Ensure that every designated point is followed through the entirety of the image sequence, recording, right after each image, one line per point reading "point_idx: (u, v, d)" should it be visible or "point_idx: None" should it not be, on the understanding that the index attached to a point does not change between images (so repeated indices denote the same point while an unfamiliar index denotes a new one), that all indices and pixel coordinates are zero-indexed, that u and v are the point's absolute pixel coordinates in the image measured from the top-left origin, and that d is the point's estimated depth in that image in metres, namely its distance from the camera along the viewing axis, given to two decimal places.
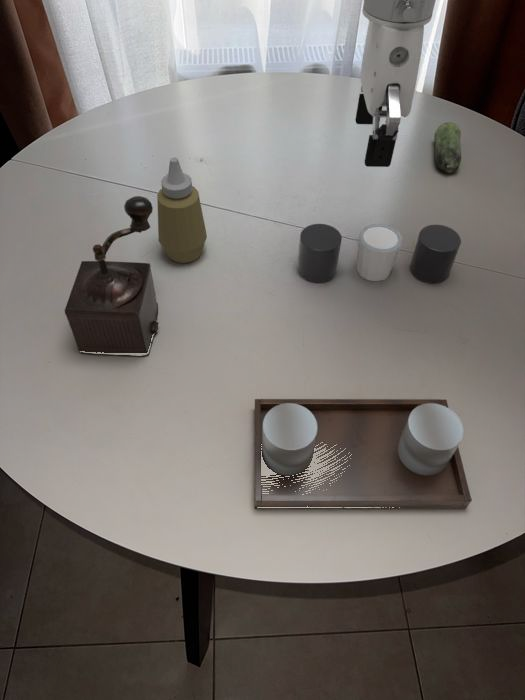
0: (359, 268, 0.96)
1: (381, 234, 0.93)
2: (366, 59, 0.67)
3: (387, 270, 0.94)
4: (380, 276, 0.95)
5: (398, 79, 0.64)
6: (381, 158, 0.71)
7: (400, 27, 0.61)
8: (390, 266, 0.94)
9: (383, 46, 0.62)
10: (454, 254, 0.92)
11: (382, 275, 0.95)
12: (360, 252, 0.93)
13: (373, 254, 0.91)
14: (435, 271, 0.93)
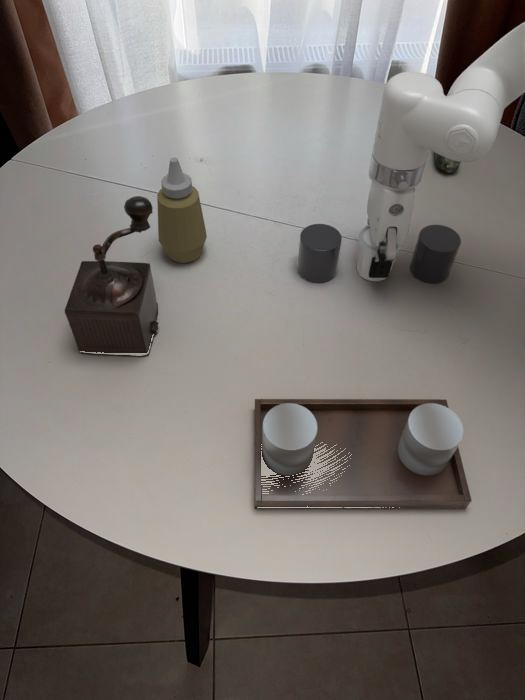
0: (359, 268, 0.96)
1: None
2: (371, 203, 0.87)
3: None
4: None
5: (396, 224, 0.84)
6: (381, 273, 0.92)
7: (397, 190, 0.81)
8: None
9: (384, 202, 0.82)
10: (454, 254, 0.92)
11: None
12: (360, 252, 0.93)
13: (373, 254, 0.91)
14: (435, 271, 0.93)
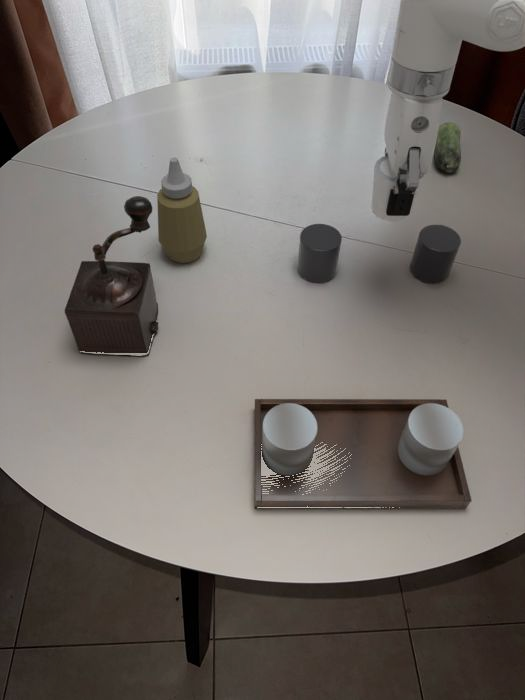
0: (375, 206, 0.83)
1: None
2: (390, 123, 0.74)
3: None
4: None
5: (419, 143, 0.71)
6: (401, 209, 0.79)
7: (421, 99, 0.68)
8: None
9: (406, 115, 0.69)
10: (454, 254, 0.92)
11: None
12: (376, 186, 0.80)
13: (392, 186, 0.78)
14: (435, 271, 0.93)
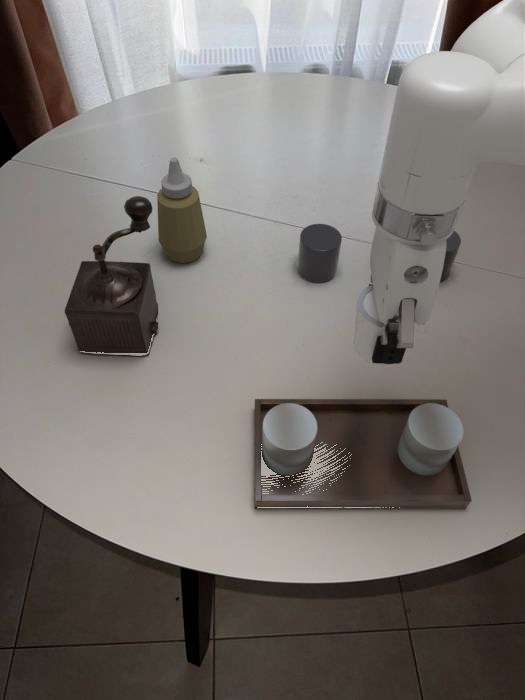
0: (357, 346, 0.65)
1: None
2: (376, 258, 0.57)
3: None
4: None
5: (415, 294, 0.53)
6: (391, 359, 0.61)
7: (418, 244, 0.50)
8: None
9: (397, 263, 0.51)
10: (454, 254, 0.92)
11: None
12: (359, 325, 0.63)
13: (378, 332, 0.60)
14: None
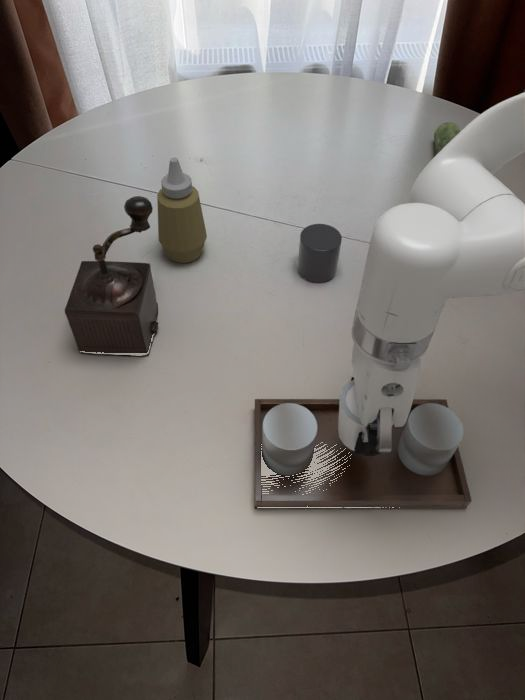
0: (341, 435, 0.69)
1: None
2: (357, 365, 0.60)
3: None
4: None
5: (392, 405, 0.57)
6: (372, 452, 0.65)
7: (394, 364, 0.54)
8: None
9: (375, 380, 0.55)
10: None
11: None
12: (342, 419, 0.66)
13: (360, 428, 0.64)
14: None
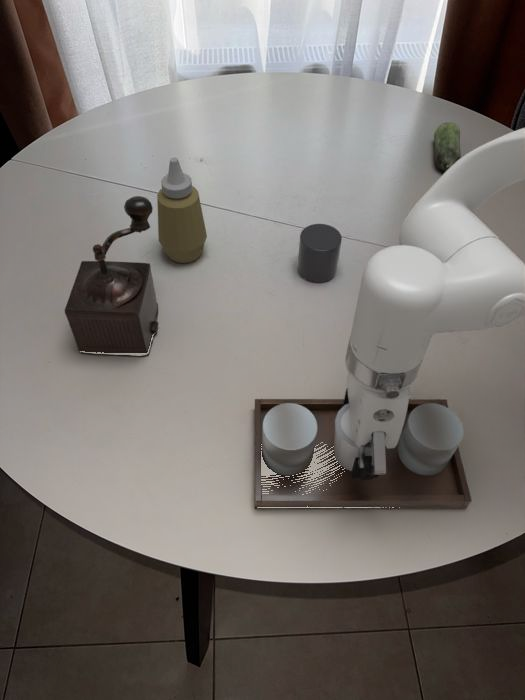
0: (337, 455, 0.73)
1: None
2: (351, 390, 0.64)
3: None
4: None
5: (383, 429, 0.61)
6: (368, 476, 0.68)
7: (385, 392, 0.58)
8: None
9: (367, 407, 0.59)
10: None
11: None
12: (337, 441, 0.70)
13: (354, 450, 0.68)
14: None
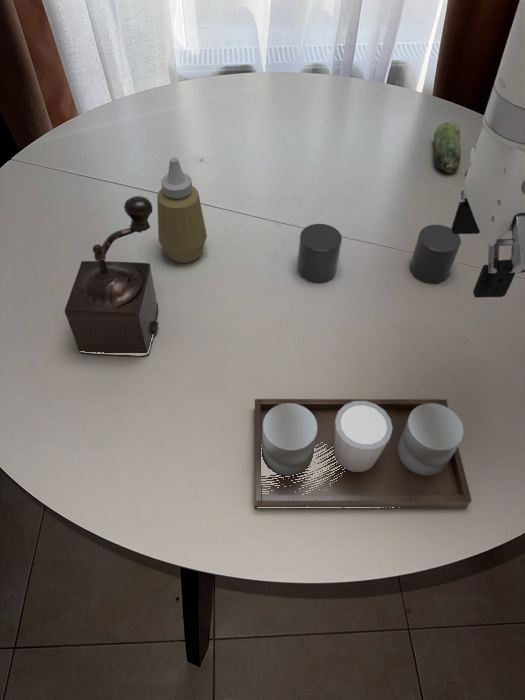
0: (337, 455, 0.73)
1: (365, 418, 0.70)
2: (481, 177, 0.54)
3: (373, 462, 0.72)
4: (364, 468, 0.72)
5: None
6: (496, 290, 0.57)
7: None
8: (377, 457, 0.71)
9: (516, 173, 0.48)
10: (454, 254, 0.92)
11: (366, 466, 0.72)
12: (337, 441, 0.70)
13: (354, 450, 0.68)
14: (435, 271, 0.93)
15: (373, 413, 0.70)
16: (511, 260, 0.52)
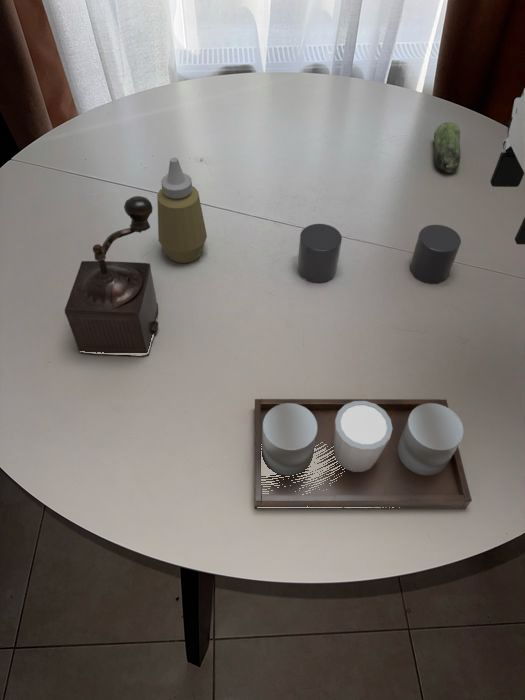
0: (337, 455, 0.73)
1: (365, 418, 0.70)
2: None
3: (373, 462, 0.72)
4: (364, 468, 0.72)
5: None
6: None
7: None
8: (377, 457, 0.71)
9: None
10: (454, 254, 0.92)
11: (366, 466, 0.72)
12: (337, 441, 0.70)
13: (354, 450, 0.68)
14: (435, 271, 0.93)
15: (373, 413, 0.70)
16: None
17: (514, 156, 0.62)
